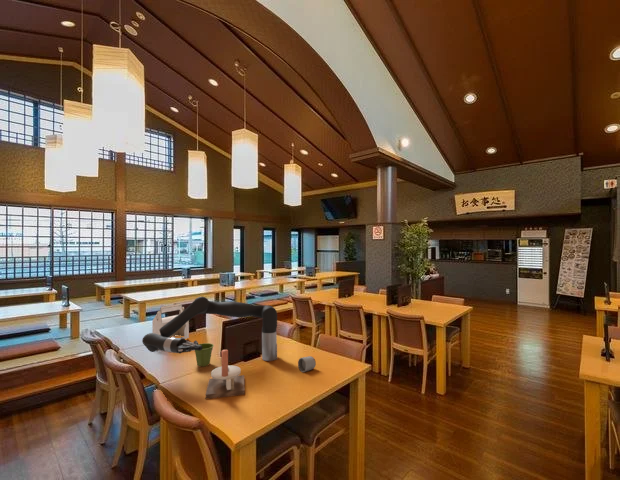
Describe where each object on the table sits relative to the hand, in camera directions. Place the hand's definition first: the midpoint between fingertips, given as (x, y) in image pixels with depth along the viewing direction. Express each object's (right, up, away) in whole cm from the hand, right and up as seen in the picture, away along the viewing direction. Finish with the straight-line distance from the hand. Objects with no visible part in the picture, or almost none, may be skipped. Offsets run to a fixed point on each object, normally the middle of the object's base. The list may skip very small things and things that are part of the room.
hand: (201, 348), depth 155 cm
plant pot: (-10, -21, +32) cm, 39 cm away
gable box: (-51, -23, +78) cm, 96 cm away
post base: (+13, -20, 0) cm, 24 cm away
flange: (+13, -17, -1) cm, 21 cm away
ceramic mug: (+53, -21, +22) cm, 61 cm away
